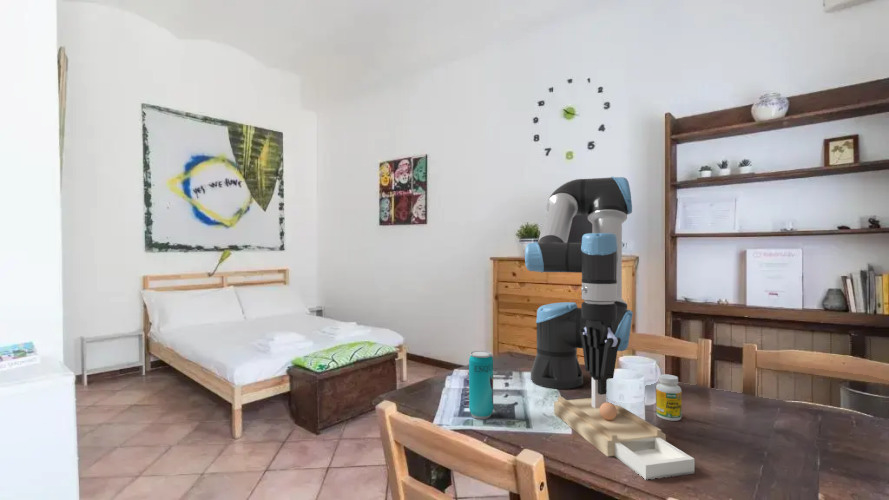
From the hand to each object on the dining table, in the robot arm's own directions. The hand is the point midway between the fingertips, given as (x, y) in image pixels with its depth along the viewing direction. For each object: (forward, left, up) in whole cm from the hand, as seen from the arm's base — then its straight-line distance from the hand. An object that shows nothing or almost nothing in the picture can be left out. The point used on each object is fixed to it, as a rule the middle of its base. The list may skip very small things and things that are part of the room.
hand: (598, 406), depth 98 cm
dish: (+17, 0, -5) cm, 17 cm away
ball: (+4, 0, 0) cm, 4 cm away
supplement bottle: (-1, +19, -5) cm, 20 cm away
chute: (+2, 0, -5) cm, 5 cm away
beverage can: (-12, -24, -5) cm, 27 cm away
